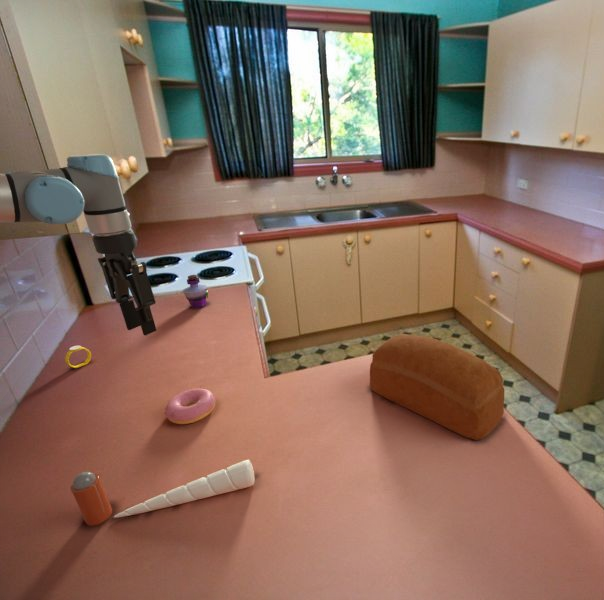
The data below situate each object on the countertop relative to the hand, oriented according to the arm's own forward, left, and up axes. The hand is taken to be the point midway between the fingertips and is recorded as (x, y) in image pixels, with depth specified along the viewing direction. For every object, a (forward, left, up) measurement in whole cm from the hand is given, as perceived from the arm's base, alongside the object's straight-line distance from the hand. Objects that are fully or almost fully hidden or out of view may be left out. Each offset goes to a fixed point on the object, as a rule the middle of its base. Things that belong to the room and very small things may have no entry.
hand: (142, 329), depth 98 cm
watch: (-37, 0, -20) cm, 42 cm away
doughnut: (+11, 0, -20) cm, 23 cm away
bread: (+61, +29, -20) cm, 70 cm away
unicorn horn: (+33, -17, -20) cm, 42 cm away
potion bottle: (-42, +44, -20) cm, 64 cm away
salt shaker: (+21, -27, -20) cm, 40 cm away
